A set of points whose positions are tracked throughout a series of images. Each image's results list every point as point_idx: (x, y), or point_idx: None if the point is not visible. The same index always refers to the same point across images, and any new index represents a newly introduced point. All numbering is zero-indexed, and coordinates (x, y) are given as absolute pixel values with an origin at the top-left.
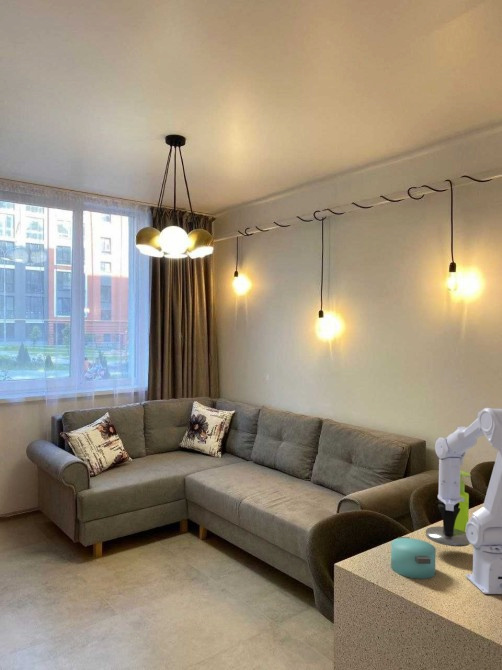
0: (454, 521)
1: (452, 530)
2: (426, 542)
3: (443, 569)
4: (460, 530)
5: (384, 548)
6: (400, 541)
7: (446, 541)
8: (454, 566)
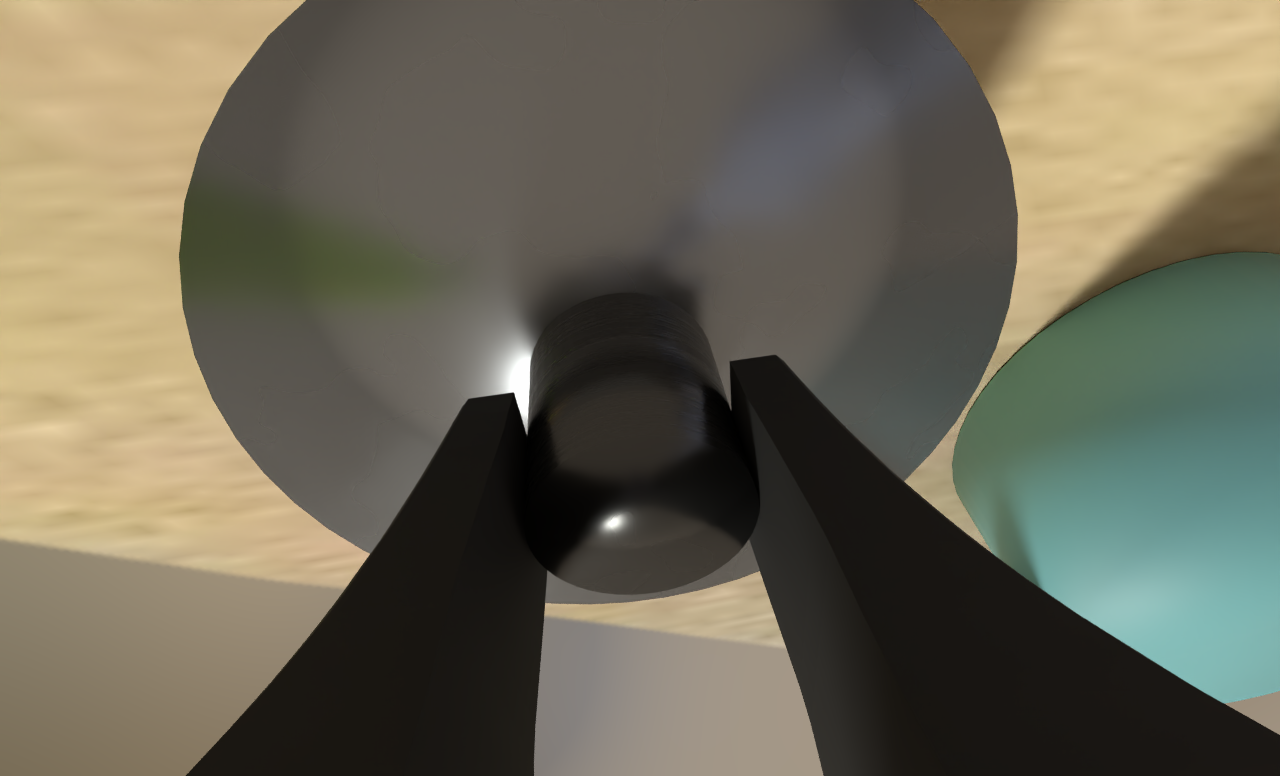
0: (941, 520)
1: (793, 378)
2: (1185, 529)
3: (1104, 195)
4: (195, 214)
5: (764, 624)
6: (1180, 676)
7: (996, 344)
8: (987, 89)
